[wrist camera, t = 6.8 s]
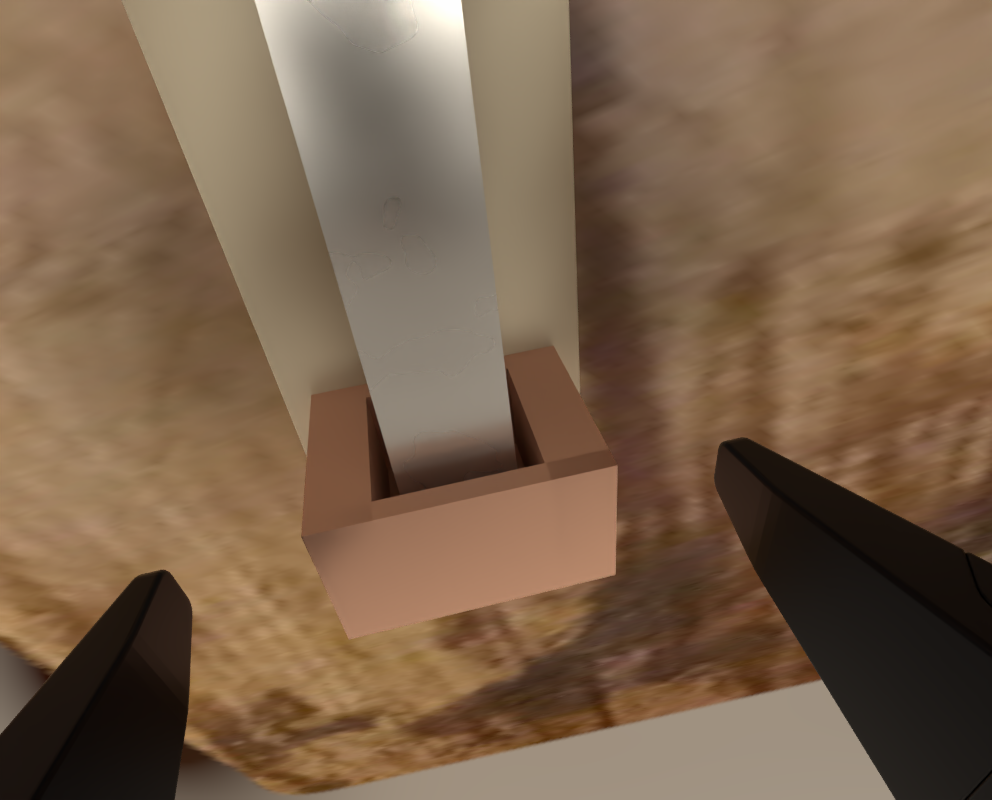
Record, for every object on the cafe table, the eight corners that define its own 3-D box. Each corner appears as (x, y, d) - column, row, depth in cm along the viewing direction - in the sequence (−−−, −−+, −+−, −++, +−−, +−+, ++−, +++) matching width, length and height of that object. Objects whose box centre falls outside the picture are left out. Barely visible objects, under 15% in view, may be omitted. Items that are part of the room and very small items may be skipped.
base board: (512, -1105, 7) (533, -1232, 7) (575, 496, 24) (583, 515, 24) (-308, -1129, 6) (-398, -1279, 6) (352, 548, 24) (352, 568, 23)
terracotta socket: (553, 345, 19) (617, 465, 14) (559, 447, 21) (615, 574, 17) (311, 395, 18) (301, 536, 14) (347, 493, 20) (349, 639, 16)
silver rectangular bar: (379, -420, 9) (394, -560, 6) (501, 452, 19) (523, 523, 17) (164, -404, 8) (94, -542, 6) (406, 473, 19) (415, 548, 16)
